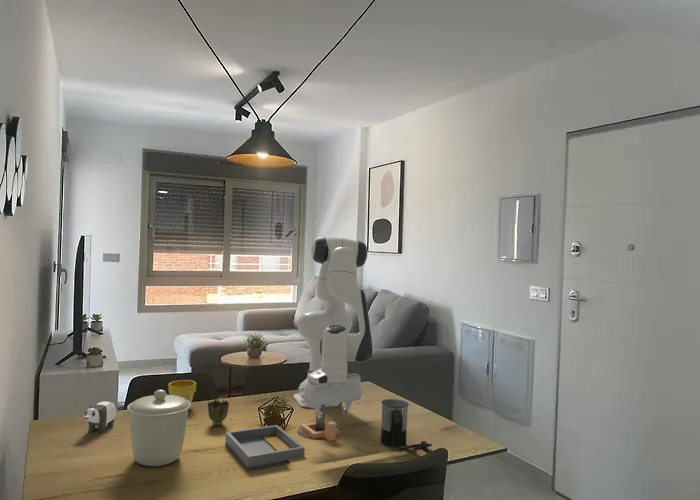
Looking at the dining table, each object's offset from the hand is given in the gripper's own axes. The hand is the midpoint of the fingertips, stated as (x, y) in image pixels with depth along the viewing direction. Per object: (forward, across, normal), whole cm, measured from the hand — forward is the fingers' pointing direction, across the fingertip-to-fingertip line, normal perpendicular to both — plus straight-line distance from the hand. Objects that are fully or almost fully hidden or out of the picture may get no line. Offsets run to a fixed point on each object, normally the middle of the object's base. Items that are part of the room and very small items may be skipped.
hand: (332, 416), depth 182 cm
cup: (+9, +29, -33) cm, 44 cm away
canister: (+9, +54, -10) cm, 56 cm away
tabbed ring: (+8, 0, -6) cm, 10 cm away
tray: (+9, +23, -3) cm, 25 cm away
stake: (+9, 0, -8) cm, 12 cm away
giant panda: (+8, +67, -43) cm, 80 cm away
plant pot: (+8, +36, -56) cm, 67 cm away
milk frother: (+10, -21, +13) cm, 26 cm away
